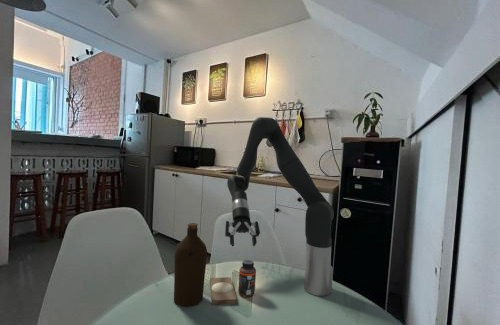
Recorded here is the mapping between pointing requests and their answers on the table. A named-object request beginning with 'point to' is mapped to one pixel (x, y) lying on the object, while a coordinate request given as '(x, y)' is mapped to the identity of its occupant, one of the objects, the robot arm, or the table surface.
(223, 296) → the board
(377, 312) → the table surface
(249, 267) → the supplement bottle
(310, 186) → the robot arm
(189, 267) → the olive oil
